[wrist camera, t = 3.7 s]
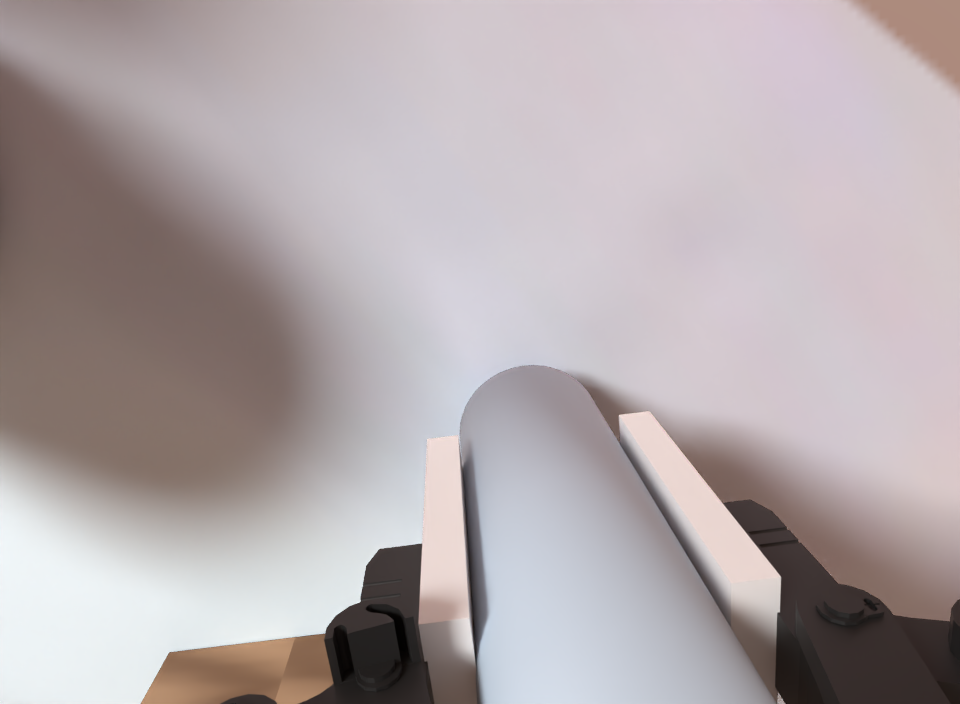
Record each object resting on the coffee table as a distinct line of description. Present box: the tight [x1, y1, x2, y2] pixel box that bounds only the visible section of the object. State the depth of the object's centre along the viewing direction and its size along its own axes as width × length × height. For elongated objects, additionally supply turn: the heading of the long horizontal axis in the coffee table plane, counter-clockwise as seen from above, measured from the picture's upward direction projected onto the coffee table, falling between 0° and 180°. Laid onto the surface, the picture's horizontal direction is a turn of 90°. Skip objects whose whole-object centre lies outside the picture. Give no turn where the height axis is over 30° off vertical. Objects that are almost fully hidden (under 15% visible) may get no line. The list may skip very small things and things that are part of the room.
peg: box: [460, 365, 777, 704], centre depth 12 cm, size 4×4×14 cm
